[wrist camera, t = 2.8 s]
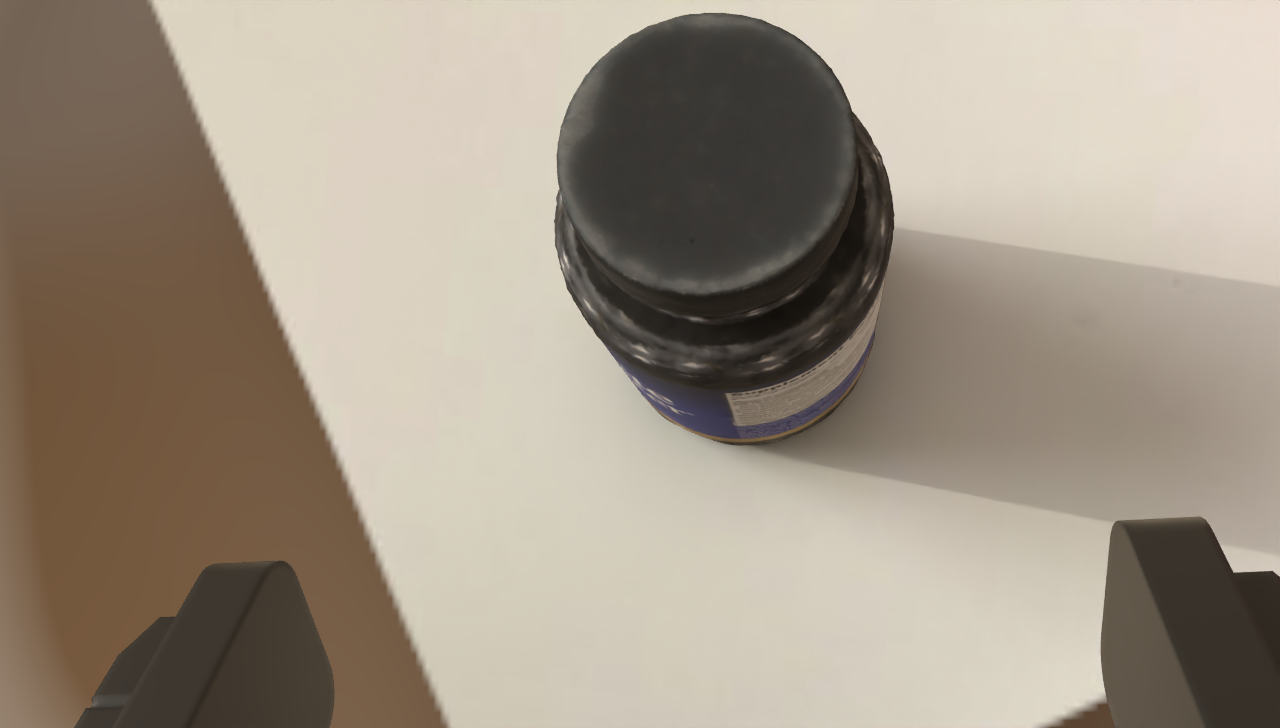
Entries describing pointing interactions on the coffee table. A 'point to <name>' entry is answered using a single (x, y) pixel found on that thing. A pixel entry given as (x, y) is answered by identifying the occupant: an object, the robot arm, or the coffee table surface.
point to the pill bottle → (724, 225)
